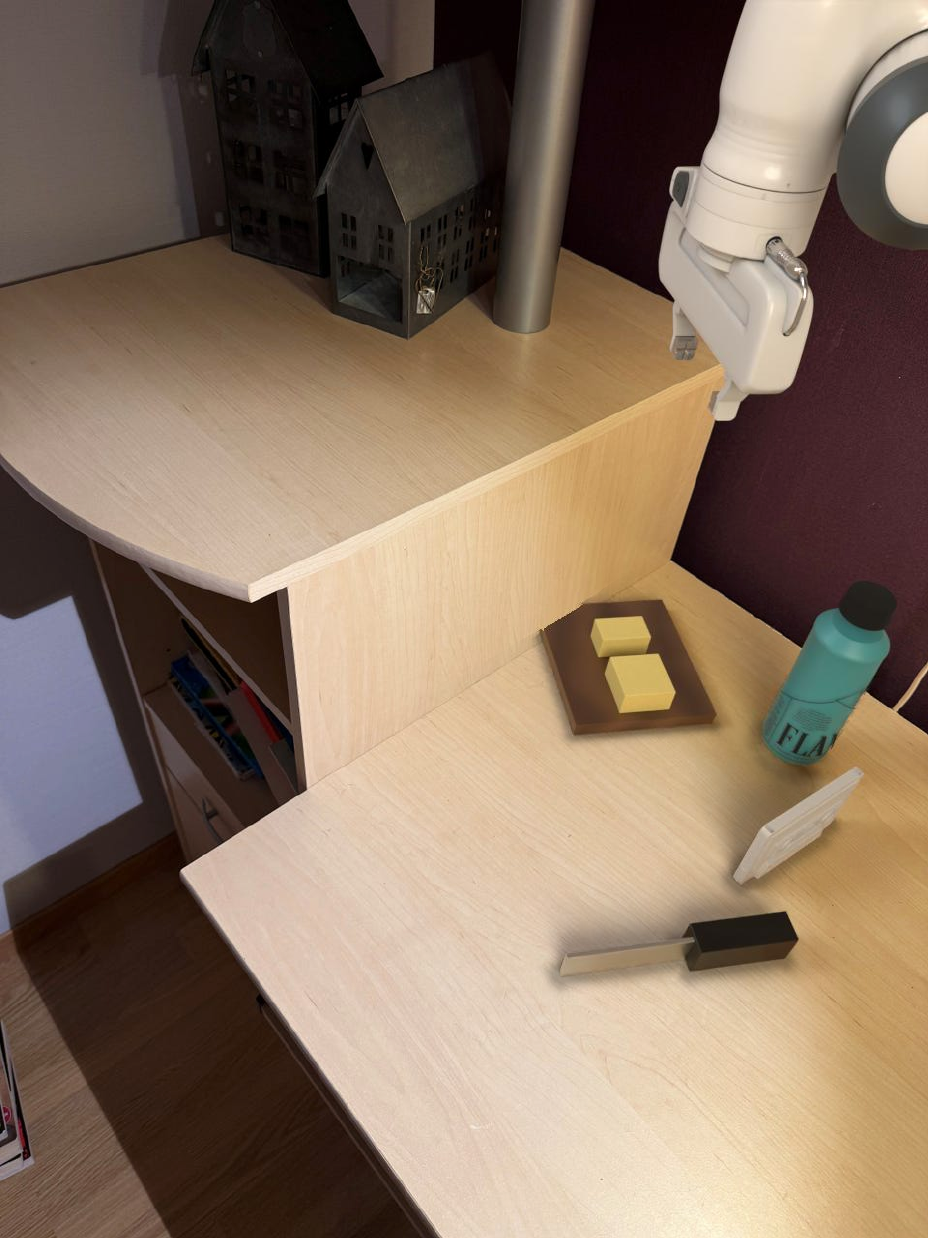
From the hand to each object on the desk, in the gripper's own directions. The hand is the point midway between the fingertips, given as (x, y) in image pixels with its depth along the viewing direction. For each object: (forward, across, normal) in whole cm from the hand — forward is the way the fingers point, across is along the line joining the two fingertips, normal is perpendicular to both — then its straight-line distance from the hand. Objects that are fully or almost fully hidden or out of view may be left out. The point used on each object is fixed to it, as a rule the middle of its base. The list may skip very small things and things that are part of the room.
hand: (699, 384), depth 75 cm
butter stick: (+28, -9, +2) cm, 29 cm away
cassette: (+30, -26, -6) cm, 40 cm away
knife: (+29, -35, +6) cm, 46 cm away
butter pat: (+28, -3, +2) cm, 28 cm away
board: (+29, -5, +2) cm, 30 cm away
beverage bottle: (+30, -16, -12) cm, 36 cm away
